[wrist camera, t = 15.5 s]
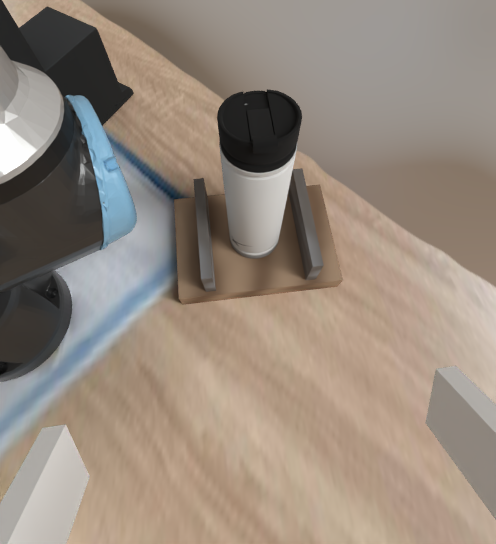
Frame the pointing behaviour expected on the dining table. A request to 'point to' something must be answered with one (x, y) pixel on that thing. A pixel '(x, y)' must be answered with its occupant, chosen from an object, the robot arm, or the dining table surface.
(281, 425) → the dining table surface
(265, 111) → the travel mug
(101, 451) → the dining table surface
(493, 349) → the dining table surface
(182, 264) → the wooden rack
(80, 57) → the black mini cabinet
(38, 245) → the robot arm
